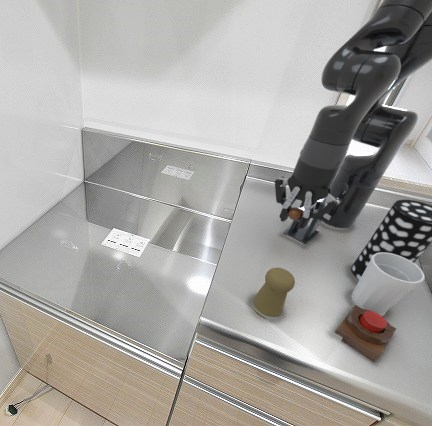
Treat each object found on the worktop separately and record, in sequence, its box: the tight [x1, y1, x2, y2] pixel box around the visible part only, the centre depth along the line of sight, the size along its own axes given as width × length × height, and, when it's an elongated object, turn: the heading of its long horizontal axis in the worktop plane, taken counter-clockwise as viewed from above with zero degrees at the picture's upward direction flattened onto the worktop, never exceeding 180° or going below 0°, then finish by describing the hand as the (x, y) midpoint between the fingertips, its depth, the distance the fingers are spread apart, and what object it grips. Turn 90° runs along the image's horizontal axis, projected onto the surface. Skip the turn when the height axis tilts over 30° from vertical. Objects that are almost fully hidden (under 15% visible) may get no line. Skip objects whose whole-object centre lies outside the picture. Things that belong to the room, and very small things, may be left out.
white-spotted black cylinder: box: [350, 199, 432, 281], centre depth 64 cm, size 8×8×20 cm
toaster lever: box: [288, 199, 324, 221], centre depth 73 cm, size 15×3×3 cm, turn 127°
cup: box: [351, 252, 425, 317], centre depth 60 cm, size 8×8×12 cm
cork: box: [252, 267, 296, 320], centre depth 61 cm, size 6×6×11 cm
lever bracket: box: [283, 199, 326, 245], centre depth 79 cm, size 8×6×13 cm
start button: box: [359, 311, 388, 333], centre depth 56 cm, size 4×4×2 cm
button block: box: [334, 304, 397, 363], centre depth 57 cm, size 9×7×4 cm
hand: (291, 223), depth 71 cm, fingers closed on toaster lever, 3 cm apart
